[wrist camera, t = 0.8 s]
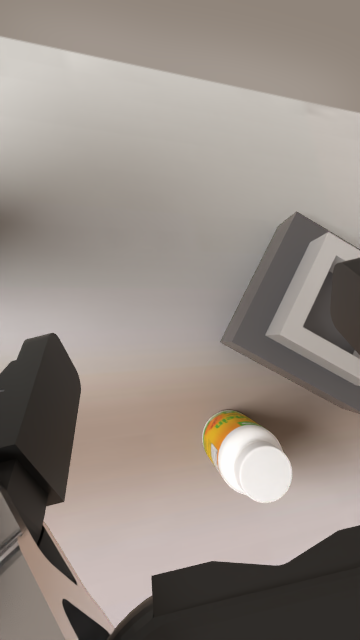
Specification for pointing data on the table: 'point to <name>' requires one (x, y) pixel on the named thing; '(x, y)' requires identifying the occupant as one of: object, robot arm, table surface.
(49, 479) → the robot arm
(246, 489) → the supplement bottle
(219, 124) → the table surface
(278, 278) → the square bottle holder
